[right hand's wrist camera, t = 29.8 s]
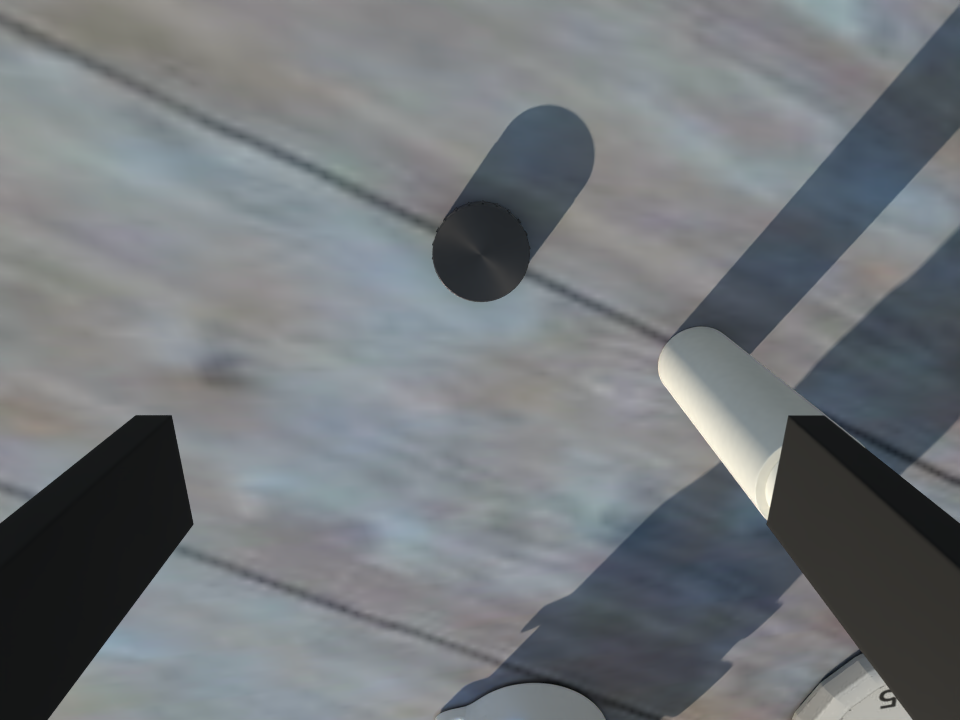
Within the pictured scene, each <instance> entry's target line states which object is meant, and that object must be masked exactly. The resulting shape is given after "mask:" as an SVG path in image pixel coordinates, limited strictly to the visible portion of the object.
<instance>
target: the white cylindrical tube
mask: <svg viewBox="0 0 960 720" xmlns="http://www.w3.org/2000/svg"><path fill="white" fill-rule="evenodd" d="M658 371H659V376H660V378H661V381H662V382H663V384H664V385H665V387H666V388H667V389H668V391H669V392H670V393H671V395H672V396H673V397H674V399H675V400H676V401H677V403H678V404H679V405H680V407H681V408H682V409H683V411H684V412H685V413H686V415H687V416H688V417H689V419H690V420H691V421H692V423H693V424H694V425H695V426H696V428H697V429H698V430H699V432H700V433H701V434H702V436H703V437H704V438H705V440H706V441H707V442H708V444H709V445H710V446H711V448H712V449H713V450H714V452H715V453H716V454H717V456H718V457H719V458H720V460H721V461H722V462H723V464H724V465H725V466H726V468H727V469H728V470H729V472H730V473H731V474H732V476H733V477H734V478H735V480H736V481H737V482H738V484H739V485H740V486H741V487H742V489H743V490H744V491H745V493H746V494H747V495H748V497H749V498H750V499H751V501H752V502H753V503H754V505H755V506H756V507H757V509H758V510H759V511H760V513H761V514H762V515H763V516H764V518H765V519H766V520H767V519H768V514H769V509H770V504H771V499H772V494H773V489H774V484H775V479H776V474H777V469H778V464H779V459H780V454H781V449H782V444H783V439H784V434H785V429H786V424H787V419H788V415H824V416H826V415H825V414H824V413H823V412H821V411H820V410H819V409H818V408H816V407H815V406H814V405H813V404H811V403H810V402H809V401H807V400H806V399H805V398H804V397H802V396H801V395H800V394H799V393H797V392H796V391H795V390H794V389H792V388H791V387H790V386H789V385H787V384H786V383H785V382H784V381H782V380H781V379H780V378H779V377H777V376H776V375H775V374H773V373H772V372H771V371H770V370H768V369H767V368H766V367H765V366H763V365H762V364H761V363H760V362H758V361H757V360H756V359H755V358H753V357H752V356H751V355H750V354H748V353H747V352H746V351H744V350H743V349H742V348H741V347H739V346H738V345H737V344H736V343H734V342H733V341H732V340H731V339H729V338H728V337H727V336H726V335H724V334H723V333H722V332H720V331H718V330H716V329H713V328H710V327H693V328H689V329H686V330H684V331H681V332H680V333H678V334H676V335H675V336H674V337H672V338H671V339H670V340H669V341H668V343H667V344H666V345H665V347H664V348H663V350H662V352H661V354H660V357H659V362H658ZM826 417H827V418H828V419H829V420H831V419H830V418H829V417H828V416H826ZM831 421H832V422H833V423H834V424H836V423H835V422H834V421H833V420H831ZM836 425H837V426H838V427H839V428H841V429H842V430H843V431H844V432H846V433H847V434H848V435H849V436H851V437H852V438H853V439H855V438H854V437H853V436H852V435H850V434H849V433H848V432H847V431H845V430H844V429H843V428H842V427H840V426H839V425H838V424H836ZM855 440H856V441H857V442H858V443H860V442H859V441H858V440H857V439H855ZM860 444H861V443H860ZM861 445H862V444H861ZM862 446H863V445H862ZM863 447H864V446H863Z"/></svg>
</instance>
